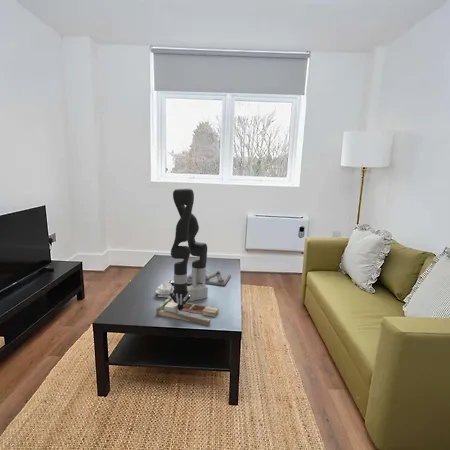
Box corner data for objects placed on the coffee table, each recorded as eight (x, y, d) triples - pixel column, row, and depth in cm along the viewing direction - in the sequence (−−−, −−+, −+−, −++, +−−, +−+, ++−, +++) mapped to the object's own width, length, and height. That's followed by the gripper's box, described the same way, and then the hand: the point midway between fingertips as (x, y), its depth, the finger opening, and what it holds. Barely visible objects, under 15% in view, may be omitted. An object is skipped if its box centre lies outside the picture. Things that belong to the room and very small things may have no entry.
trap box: (169, 303, 191) (169, 297, 191) (218, 312, 182) (218, 305, 182) (156, 314, 177) (156, 308, 176) (209, 324, 168) (209, 317, 167)
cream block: (169, 310, 183) (169, 301, 182) (178, 311, 181) (178, 303, 180) (164, 314, 177) (164, 306, 176) (174, 316, 176) (174, 308, 175)
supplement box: (184, 297, 201) (203, 293, 207) (189, 301, 195) (207, 298, 201) (185, 286, 200) (203, 283, 206) (189, 290, 193) (208, 287, 199)
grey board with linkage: (231, 276, 241) (231, 267, 240) (224, 287, 220) (225, 277, 219) (193, 272, 247) (193, 263, 246) (184, 282, 227) (184, 272, 225)
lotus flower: (183, 295, 204) (183, 282, 202) (164, 302, 193) (164, 289, 191) (168, 289, 213) (168, 276, 211) (150, 295, 202) (150, 282, 200)
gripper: (194, 280, 176) (193, 309, 180) (172, 277, 180) (172, 305, 183) (188, 285, 169) (188, 314, 173) (166, 281, 173) (166, 311, 176)
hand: (180, 309), depth 178 cm, fingers closed
